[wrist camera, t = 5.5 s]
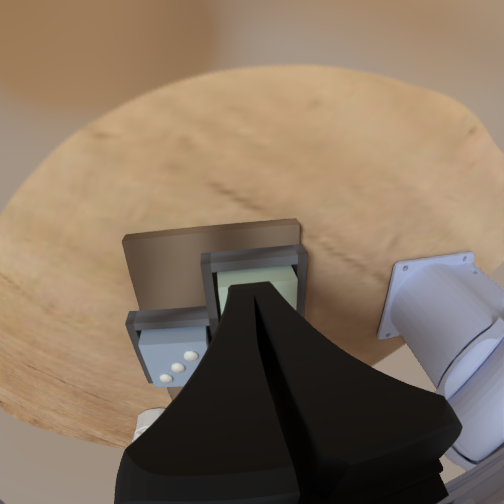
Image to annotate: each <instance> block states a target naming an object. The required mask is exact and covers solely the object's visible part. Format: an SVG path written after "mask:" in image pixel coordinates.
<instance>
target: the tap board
mask: <svg viewBox="0 0 504 504" xmlns="http://www.w3.org/2000/svg"><path fill="white" fill-rule="evenodd" d="M299 238H300V224H299V222H298V221H297V220H296V219H283V220H270V221H258V222H246V223H235V224H224V225H213V226H202V227H192V228H182V229H172V230H163V231H153V232H144V233H135V234H127V235H125V236H124V238H123V240H122V244H123V249H124V253H125V257H126V261H127V265H128V269H129V273H130V276H131V280H132V284H133V287H134V291H135V294H136V298H137V301H138V305H139V308H140V311H129V313H128V317H127V320H126V323H125V325H126V328H127V330H128V333H129V336H130V339H131V341H132V344H133V346H134V349H135V352H136V354H137V357H138V359H139V361H140V364H141V366H142V369H143V371H144V374H145V376H146V378H147V381H148V383H153V381H152V379H151V376H150V374H149V371H148V369H147V366H146V364H145V361H144V359H143V356H142V354H141V351H140V348H139V346H138V344H139V340H140V335H141V331H142V330H154V329H170V328H185V327H198V326H207V327H208V333H209V338H210V342H211V340H212V338H213V336H214V333H215V331H216V329H217V327H218V324H219V321H220V319H221V316H222V315H221V308H220V300H219V292H218V277H217V272H223V271H233V270H244V269H254V268H264V267H274V266H284V265H291V266H292V268H293V271H294V273H295V275H296V277H297V279H298V282H297V304H296V311H297V312H298V313H299V314H300V315H301V316H302V317H303V318H304V310H305V295H306V278H307V259H308V254H307V252H306V250H305V249H304V247H303V245H302V244H299ZM183 387H184V386H179V387H167V389H168V392H169V394H170V397H171V399H172V401H173V400H174V399H175V397H176V396H177V395H178V394H179V392H180V391H181V390H182V388H183Z"/></svg>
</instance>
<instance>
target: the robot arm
mask: <svg viewBox="0 0 504 504" xmlns="http://www.w3.org/2000/svg"><path fill="white" fill-rule="evenodd" d="M474 256H475V255H474V253H473V252H472V251H469V252H463V253H456V254H449V255H442V256H435V257H428V258H421V259H414V260H406V261H399V262H397V263H396V264H395V265H394V267H393V271H392V276H391V281H390V286H389V290H388V294H387V299H386V303H385V307H384V311H383V315H382V319H381V323H380V327H379V330H378V334H377V337H378V338H379V339H380V340H383V339H388V338H392V337H396V336H400V335H401V336H402V337H403V339H404V340H405V342H406V343H407V345H408V346H409V348H410V349H411V350H412V352H413V353H414V355H415V357H416V358H417V359H418V361H419V363H420V364H421V365H422V367H423V369H424V370H425V372H426V373H427V375H428V376H429V378H430V379H431V381H432V383H433V384H434V386H435V387H436V389H437V390H436V391H435V393H433V392H430V391H427V390H424V389H421V388H418V387H415V386H412V385H409V384H407V383H404V382H402V381H399V380H397V379H395V378H393V377H390V376H388V375H386V374H384V373H382V372H380V371H378V370H376V369H374V368H372V367H370V366H369V365H367V364H365V363H363V362H361V361H360V360H358V359H356V358H354V357H353V356H351V355H350V354H348V353H347V352H345V351H344V350H342V349H341V348H339V347H338V346H336V345H335V344H334V343H332V342H331V341H330V340H328V339H327V338H326V337H325V336H323V335H322V334H321V333H320V332H319V331H317V330H316V329H315V328H314V327H313V326H312V325H311V324H309V323H308V322H307V321H306V320H305V319H304V318H303V317H302V316H301V315H300V314H299V313H298V312H297V311H296V310H295V309H294V308H293V307H292V306H291V305H290V304H289V303H288V302H287V301H286V299H285V298H284V297H283V296H282V295H281V294H280V293H279V291H278V290H277V289H276V288H275V287H274V285H273V284H272V283H271V282H270V281H264V282H255V283H245V284H235V285H230V287H229V288H228V294H227V299H226V303H225V307H224V310H223V313H222V316H221V319H220V321H219V324H218V327H217V329H216V331H215V333H214V336H213V338H212V340H211V342H210V344H209V346H208V348H207V350H206V352H205V354H204V356H203V357H202V359H201V361H200V363H199V364H198V366H197V368H196V369H195V371H194V372H193V374H192V375H191V377H190V378H189V380H188V381H187V383H186V384H185V385H184V387H183V388H182V390H181V391H180V392H179V394H178V395H177V396H176V397H175V399H174V400H173V401H172V402H171V403H170V404H169V406H168V407H167V408H166V409H165V410H164V411H163V413H162V414H161V415H160V416H159V417H158V418H157V419H156V420H155V421H154V422H153V424H152V425H151V426H149V427H148V428H147V429H146V430H145V431H144V432H143V433H142V434H141V435H140V436H139V437H138V438H137V439H136V440H135V441H134V442H132V443H131V444H130V445H129V446H128V447H127V448H126V449H125V451H124V453H123V456H122V459H121V462H120V466H119V470H118V473H117V478H116V486H115V499H114V504H504V289H502V288H501V287H500V286H499V285H498V284H497V283H496V282H495V281H494V280H492V279H491V278H490V277H489V276H488V275H487V274H485V273H484V272H483V271H482V270H481V269H479V268H478V267H477V266H476V265H475V264H473V260H474ZM404 266H405V268H403V267H404ZM443 454H444V455H445V456H446V457H447V458H448V459H449V460H450V461H451V462H453V463H454V464H456V465H459V466H460V467H462V468H463V469H465V470H466V471H467V472H465V473H464V474H462V475H460V476H458V477H456V478H455V479H453V480H451V481H449V482H448V483H446V484H444V483H443V481H442V479H441V477H440V474H439V473H441V472H442V471H443V466H442V464H441V462H440V460H439V458H440V457H441V456H442V455H443ZM0 504H5V503H4V502H3V501H1V500H0Z"/></svg>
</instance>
